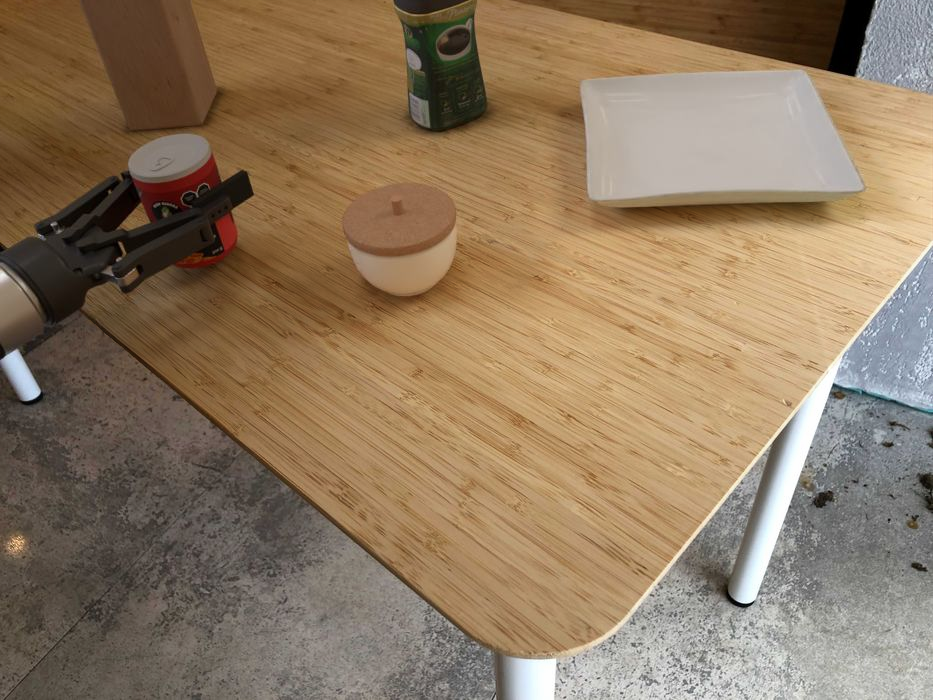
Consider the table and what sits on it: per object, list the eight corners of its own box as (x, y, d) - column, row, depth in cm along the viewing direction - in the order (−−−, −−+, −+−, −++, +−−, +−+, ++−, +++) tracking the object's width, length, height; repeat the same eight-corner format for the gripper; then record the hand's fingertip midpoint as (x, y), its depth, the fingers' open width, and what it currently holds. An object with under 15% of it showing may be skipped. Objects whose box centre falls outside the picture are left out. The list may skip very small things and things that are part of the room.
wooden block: (203, 127, 112) (152, -30, 98) (129, 133, 112) (67, -23, 98) (218, 91, 119) (173, -59, 105) (149, 97, 119) (94, -52, 106)
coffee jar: (464, 92, 112) (450, -55, 100) (496, 115, 107) (487, -38, 94) (400, 116, 109) (378, -34, 96) (430, 140, 104) (411, -14, 91)
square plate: (862, 220, 85) (871, 187, 82) (587, 229, 88) (587, 197, 85) (802, 93, 105) (808, 62, 102) (578, 103, 107) (578, 74, 105)
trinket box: (387, 328, 79) (371, 247, 73) (338, 272, 86) (319, 194, 80) (483, 284, 83) (476, 203, 76) (428, 233, 90) (417, 155, 83)
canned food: (152, 270, 86) (113, 176, 78) (182, 224, 91) (147, 132, 84) (224, 272, 85) (191, 177, 77) (249, 225, 90) (221, 132, 83)
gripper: (-20, 287, 81) (169, 175, 94) (105, 370, 71) (299, 232, 84) (-60, 223, 76) (146, 113, 89) (69, 302, 66) (281, 166, 79)
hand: (220, 171), depth 86 cm, fingers closed on canned food, 8 cm apart
